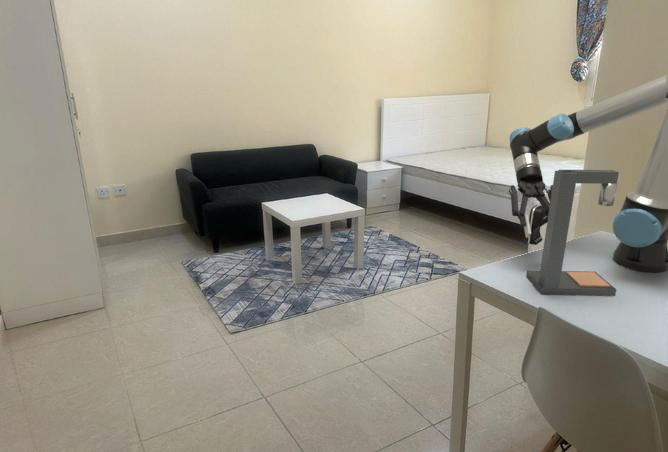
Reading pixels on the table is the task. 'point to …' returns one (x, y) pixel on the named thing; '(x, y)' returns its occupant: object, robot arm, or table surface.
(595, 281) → the pad
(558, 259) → the arbor press
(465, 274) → the table surface
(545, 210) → the battery charger
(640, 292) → the table surface
